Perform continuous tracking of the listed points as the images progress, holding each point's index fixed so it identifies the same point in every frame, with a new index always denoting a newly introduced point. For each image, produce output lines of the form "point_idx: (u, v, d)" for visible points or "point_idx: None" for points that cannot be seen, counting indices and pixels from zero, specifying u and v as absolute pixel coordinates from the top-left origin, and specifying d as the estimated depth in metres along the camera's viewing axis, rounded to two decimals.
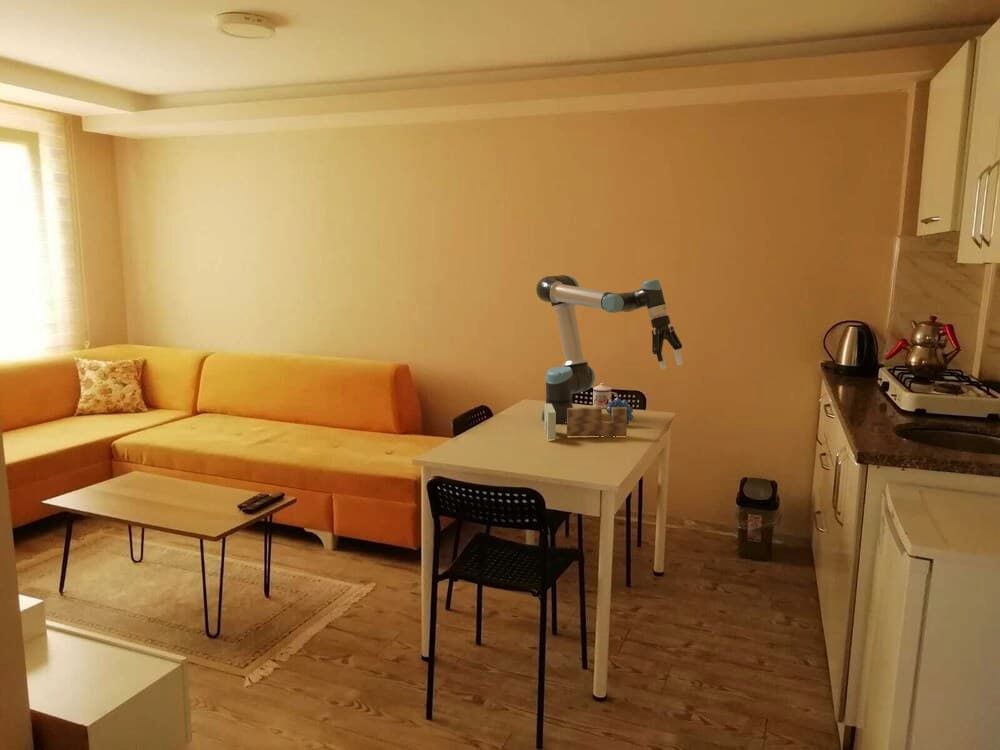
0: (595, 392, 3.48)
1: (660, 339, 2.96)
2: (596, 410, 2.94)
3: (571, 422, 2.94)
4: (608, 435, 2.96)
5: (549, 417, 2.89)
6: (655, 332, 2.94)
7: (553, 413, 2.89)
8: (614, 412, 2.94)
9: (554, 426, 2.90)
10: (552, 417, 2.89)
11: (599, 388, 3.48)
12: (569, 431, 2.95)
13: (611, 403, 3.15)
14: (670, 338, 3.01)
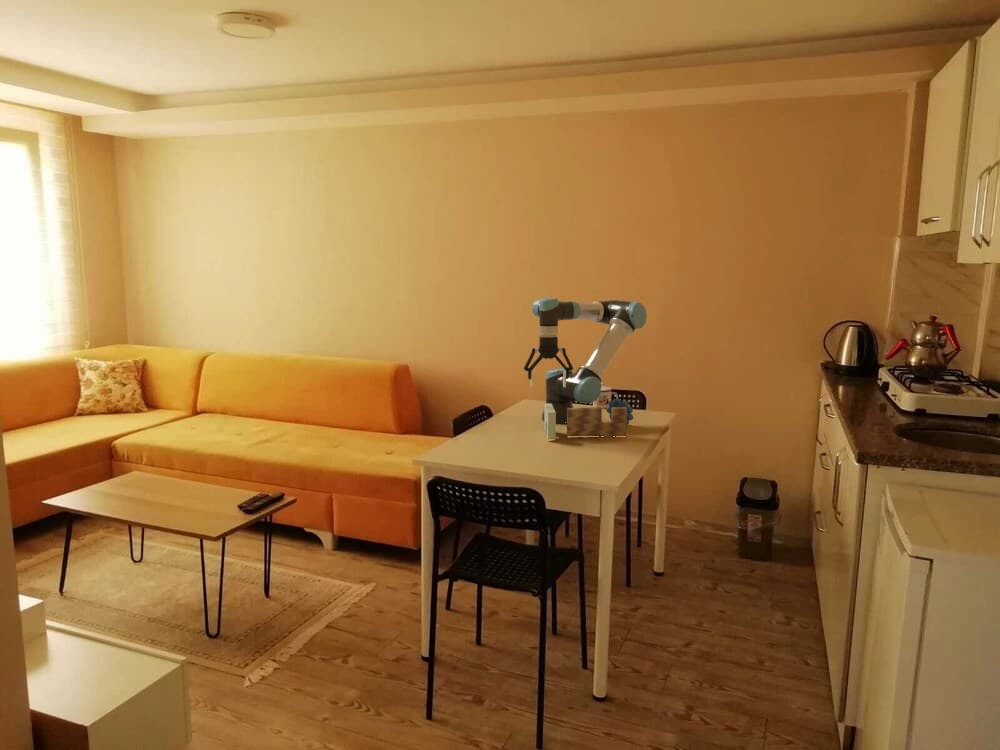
0: None
1: (537, 358, 2.98)
2: (596, 410, 2.94)
3: (571, 422, 2.94)
4: (608, 435, 2.96)
5: (549, 417, 2.89)
6: (531, 351, 2.98)
7: (553, 413, 2.89)
8: (614, 412, 2.94)
9: (554, 426, 2.90)
10: (552, 417, 2.89)
11: None
12: (569, 431, 2.95)
13: (611, 403, 3.15)
14: (556, 359, 2.99)
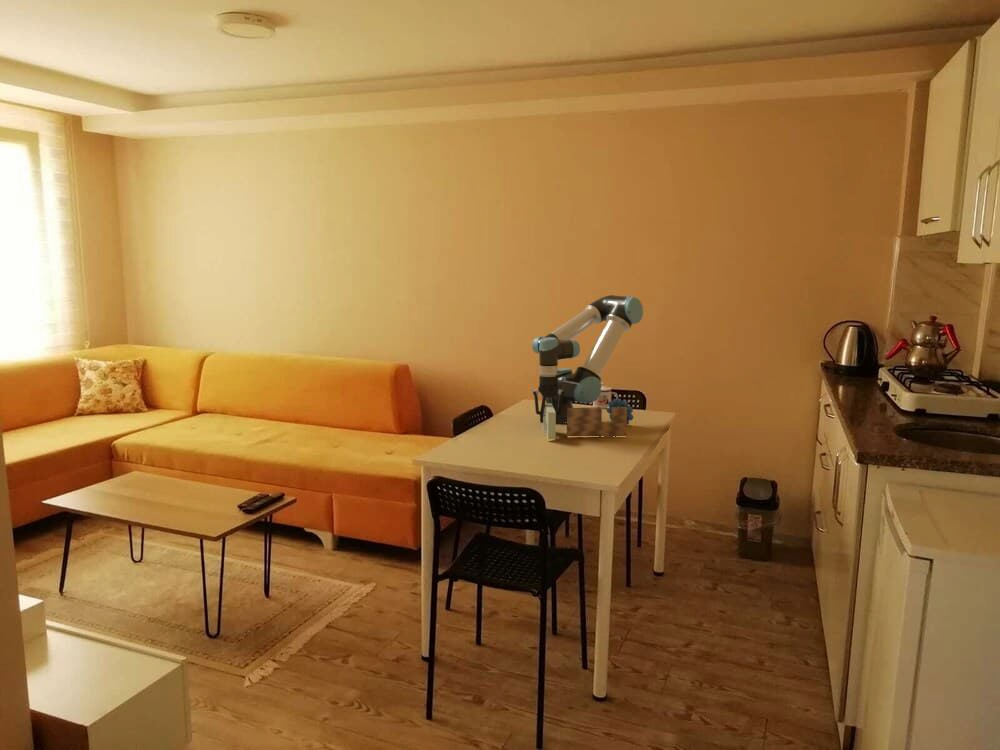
0: None
1: (542, 400, 3.02)
2: (596, 410, 2.94)
3: (571, 422, 2.94)
4: (608, 435, 2.96)
5: (549, 417, 2.89)
6: None
7: (553, 413, 2.89)
8: (614, 412, 2.94)
9: (554, 426, 2.90)
10: (552, 417, 2.89)
11: None
12: (569, 431, 2.95)
13: (611, 403, 3.15)
14: (551, 399, 3.02)
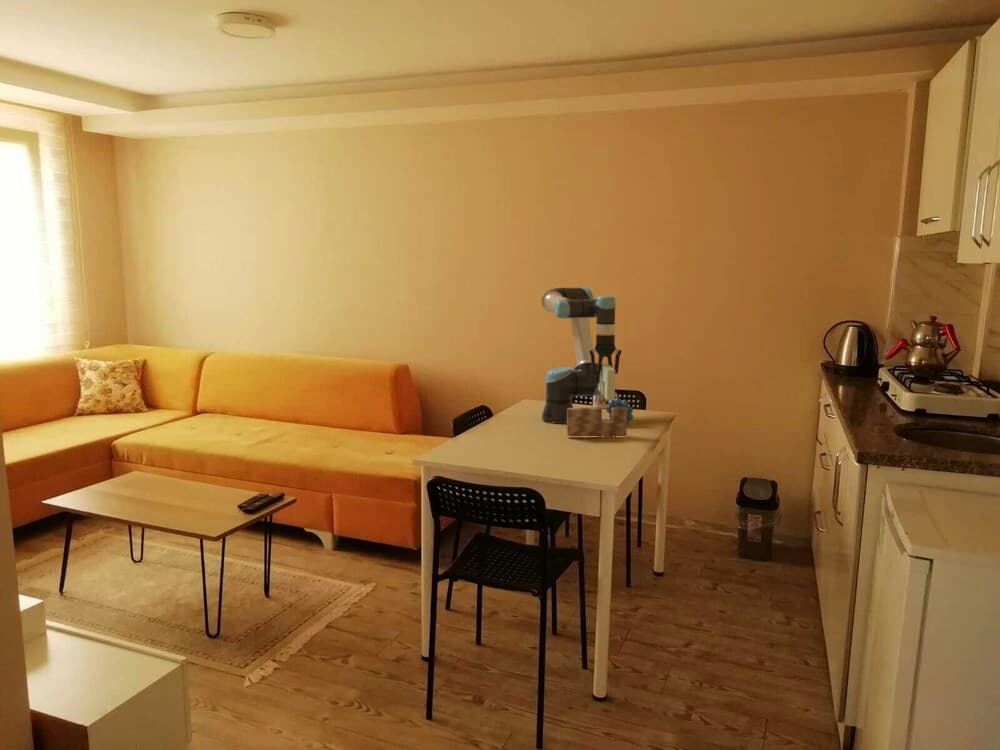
0: None
1: (599, 360, 2.97)
2: (596, 410, 2.94)
3: (571, 422, 2.94)
4: (608, 435, 2.96)
5: (608, 375, 2.85)
6: (590, 354, 2.97)
7: (612, 370, 2.84)
8: (614, 412, 2.94)
9: (613, 384, 2.85)
10: (611, 375, 2.85)
11: None
12: (569, 431, 2.95)
13: (611, 403, 3.15)
14: (608, 359, 2.97)
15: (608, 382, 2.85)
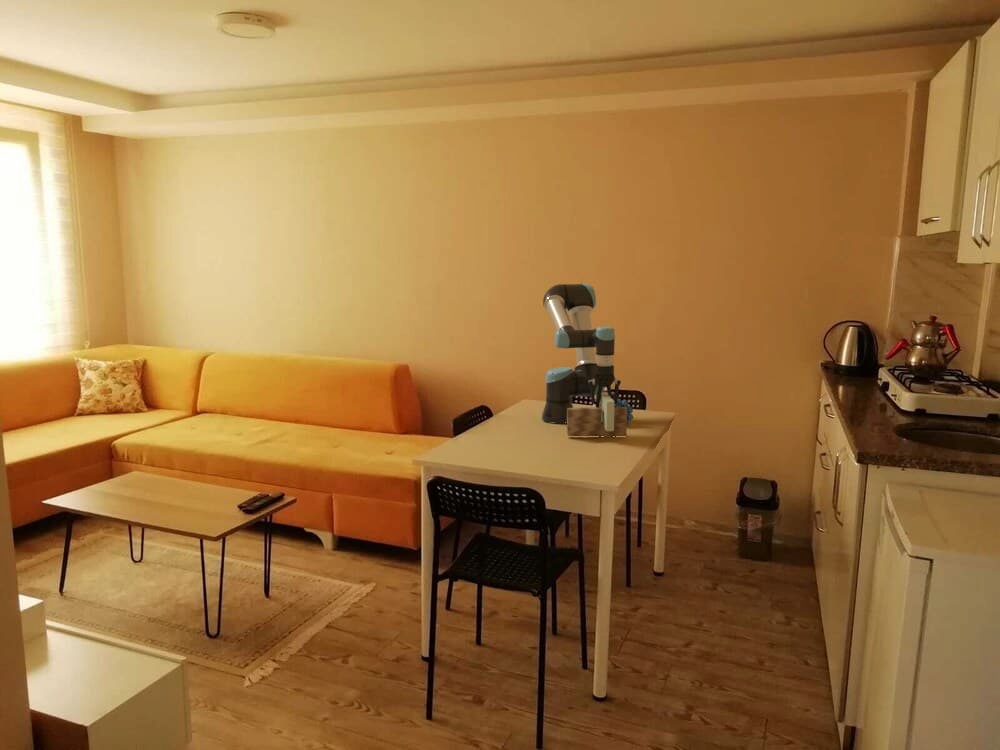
0: None
1: (598, 390, 3.00)
2: (596, 410, 2.94)
3: (571, 422, 2.94)
4: (608, 435, 2.96)
5: (608, 406, 2.87)
6: (589, 384, 2.99)
7: (611, 402, 2.87)
8: (614, 412, 2.94)
9: (613, 415, 2.88)
10: (611, 406, 2.87)
11: None
12: (569, 431, 2.95)
13: None
14: (607, 389, 3.00)
15: (607, 413, 2.87)
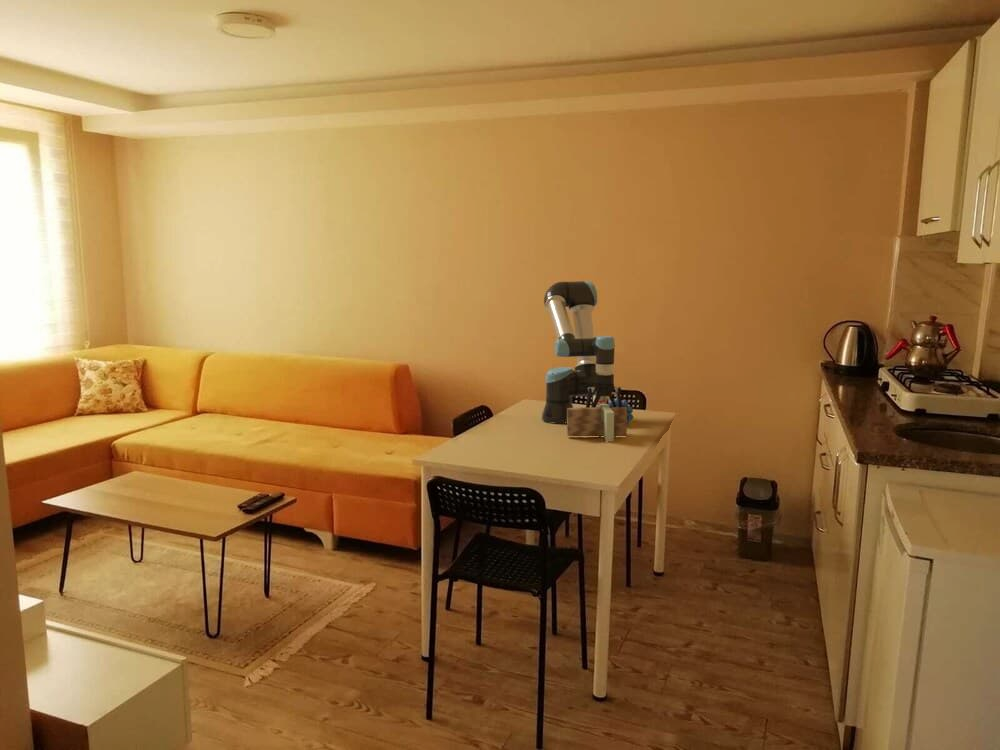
0: None
1: (596, 398, 3.00)
2: (596, 410, 2.94)
3: (571, 422, 2.94)
4: None
5: (607, 417, 2.88)
6: (588, 391, 3.00)
7: (611, 413, 2.88)
8: (614, 412, 2.94)
9: (612, 426, 2.89)
10: (610, 417, 2.88)
11: None
12: (569, 431, 2.95)
13: (611, 403, 3.15)
14: (609, 397, 3.00)
15: (607, 424, 2.88)
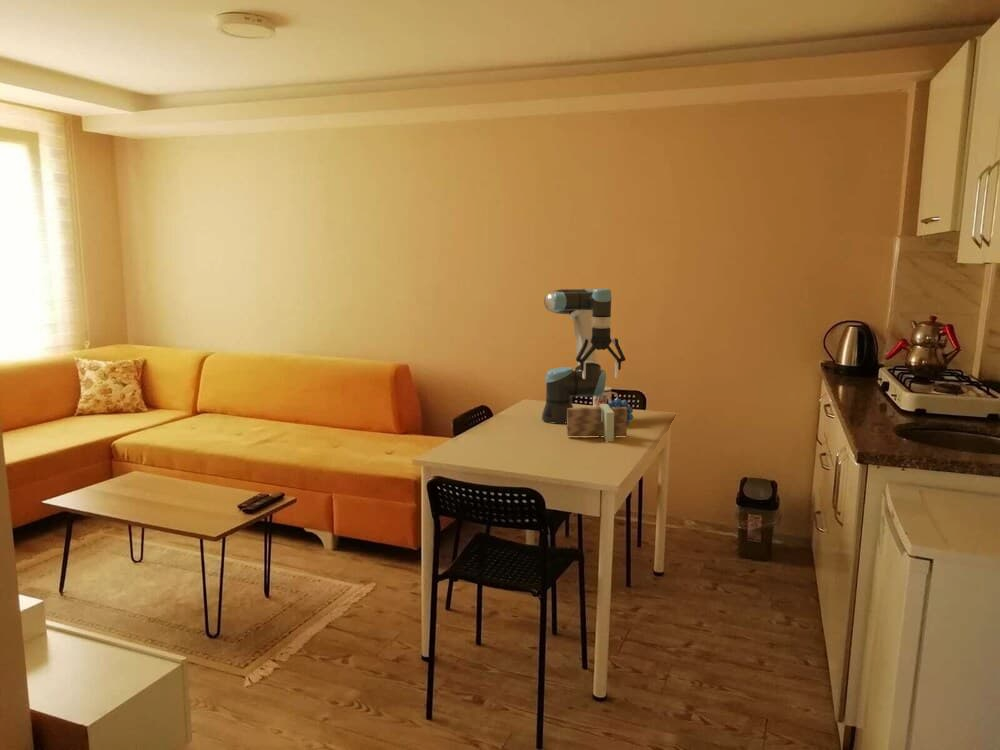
0: None
1: (590, 349, 2.97)
2: (596, 410, 2.94)
3: (571, 422, 2.94)
4: None
5: (607, 417, 2.88)
6: (584, 342, 2.96)
7: (611, 413, 2.88)
8: (614, 412, 2.94)
9: (612, 426, 2.89)
10: (610, 417, 2.88)
11: None
12: (569, 431, 2.95)
13: (611, 403, 3.15)
14: None
15: (607, 424, 2.88)
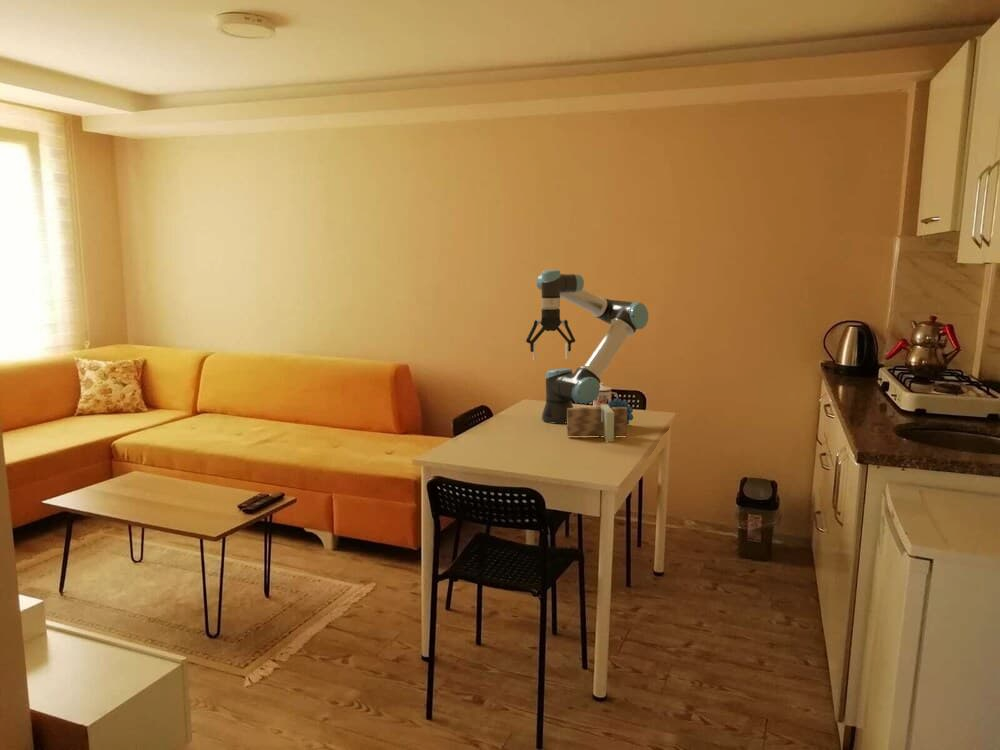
0: None
1: (539, 331, 2.98)
2: (596, 410, 2.94)
3: (571, 422, 2.94)
4: None
5: (607, 417, 2.88)
6: (534, 323, 2.98)
7: (611, 413, 2.88)
8: (614, 412, 2.94)
9: (612, 426, 2.89)
10: (610, 417, 2.88)
11: None
12: (569, 431, 2.95)
13: (611, 403, 3.15)
14: (558, 331, 2.99)
15: (607, 424, 2.88)
